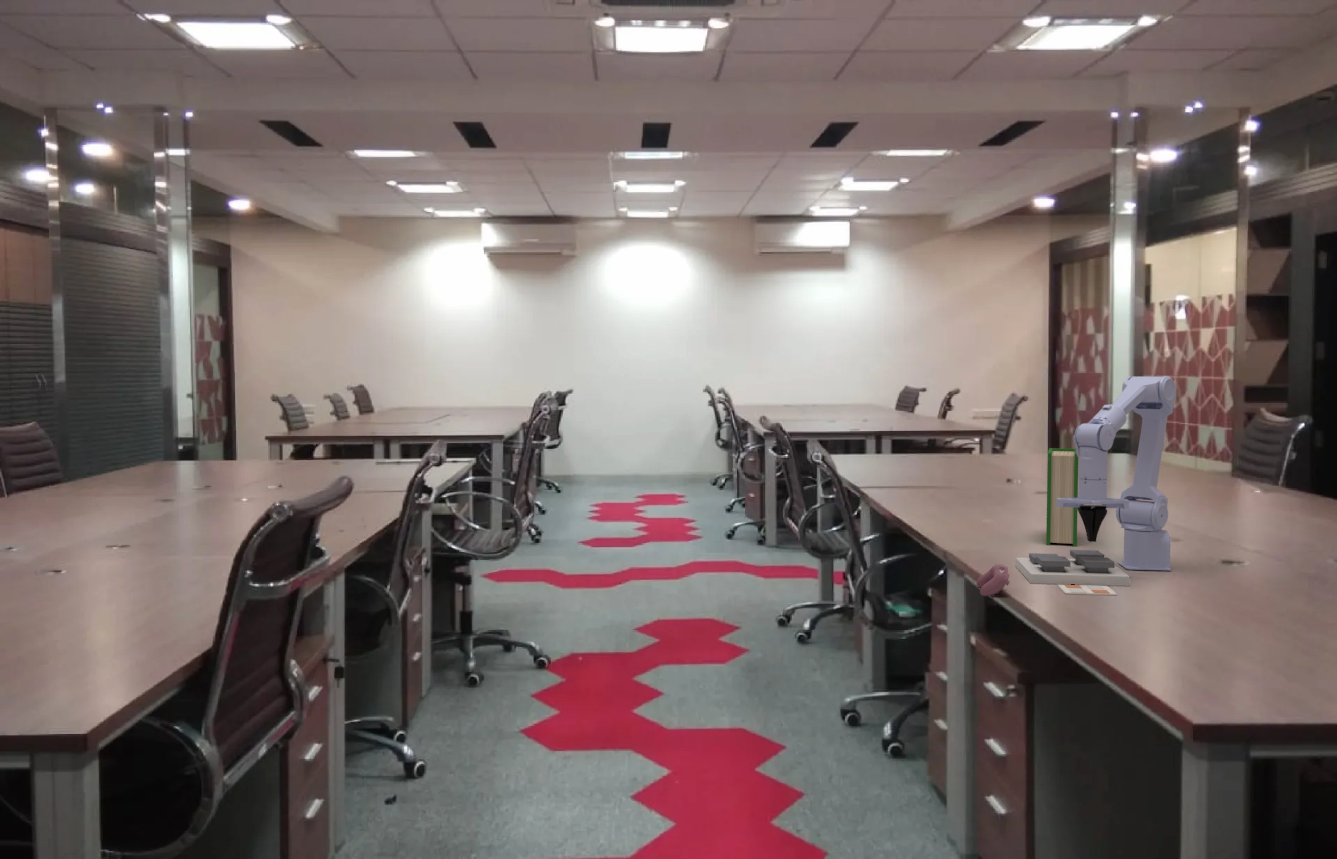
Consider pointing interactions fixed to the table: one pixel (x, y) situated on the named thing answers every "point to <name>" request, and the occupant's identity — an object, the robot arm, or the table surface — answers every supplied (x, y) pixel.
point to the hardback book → (1061, 496)
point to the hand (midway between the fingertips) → (1091, 541)
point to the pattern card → (1086, 589)
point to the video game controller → (993, 580)
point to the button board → (1071, 575)
